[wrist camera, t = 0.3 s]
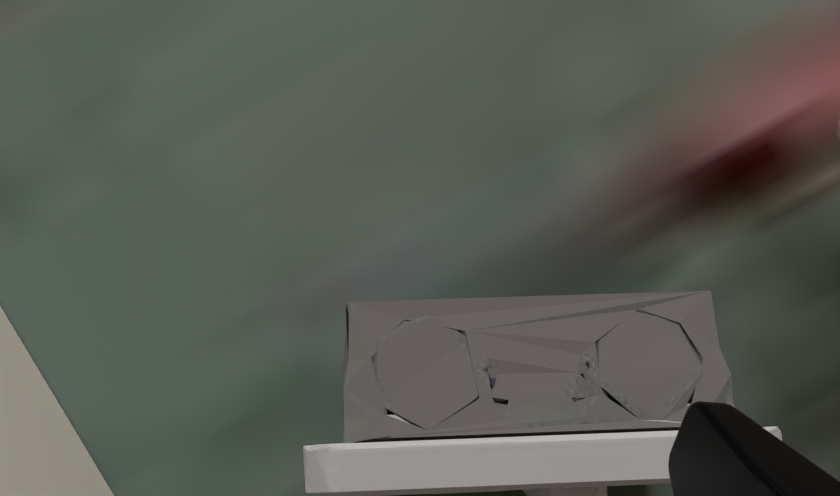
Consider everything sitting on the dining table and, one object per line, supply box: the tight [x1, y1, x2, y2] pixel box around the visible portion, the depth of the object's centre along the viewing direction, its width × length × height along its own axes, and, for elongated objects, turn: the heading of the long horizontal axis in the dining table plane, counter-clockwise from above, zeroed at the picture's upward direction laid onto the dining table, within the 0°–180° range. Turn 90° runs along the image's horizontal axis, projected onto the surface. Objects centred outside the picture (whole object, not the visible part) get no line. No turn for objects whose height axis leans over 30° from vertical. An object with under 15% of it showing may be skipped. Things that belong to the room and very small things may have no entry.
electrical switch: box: [303, 291, 782, 496], centre depth 18 cm, size 9×5×9 cm, turn 92°
